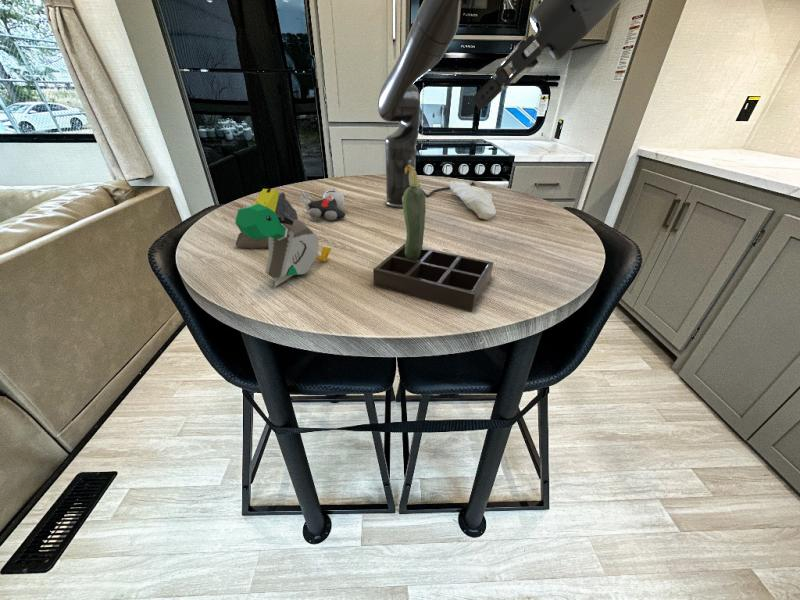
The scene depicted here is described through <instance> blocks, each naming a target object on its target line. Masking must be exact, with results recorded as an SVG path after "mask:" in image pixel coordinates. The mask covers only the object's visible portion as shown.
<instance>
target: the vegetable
mask: <svg viewBox="0 0 800 600" xmlns="http://www.w3.org/2000/svg"><path fill="white" fill-rule="evenodd" d="M407 170H408V171H409V182H410V184H409V185H410V187H409V188H407V189H406V191H405V192H404V195H403V208H402V210H403V215H404V216H403V218H404V219H403V220H404V222H405V228H406V236H405V237H406V238H405V244H406V246H405V257H406V259H411V260H415V261H416V260H418V258H419V256H420V253H421V250H422V248H423V244H424V237H425V235H424V233H425V223H426V208H427V207H426V196H425V195H424V192H425V191H424V190H423V188H421V187H420V188H419V184H420V185H421V182H420V179H419V176H418V174H417V171H416V167H415V168H413V167H412V166H411V165H407V166H406V168H405V174H406V173H407V172H408V171H407ZM422 190H423V191H424V192H423V191H422Z"/></svg>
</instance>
